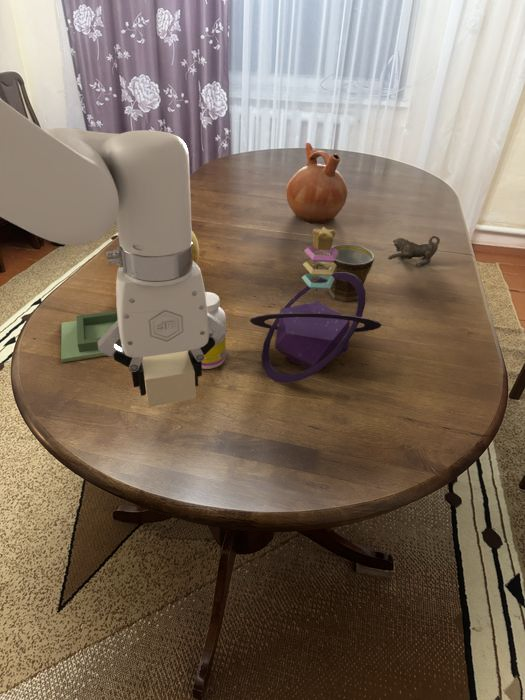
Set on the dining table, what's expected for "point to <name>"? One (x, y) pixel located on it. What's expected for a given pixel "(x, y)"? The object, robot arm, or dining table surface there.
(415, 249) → the dog figurine
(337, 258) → the ceramic cup
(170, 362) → the beige cube block
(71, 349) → the green rectangular tray
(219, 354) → the supplement bottle
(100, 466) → the dining table surface
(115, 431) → the dining table surface
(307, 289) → the purple faceted ringed piece
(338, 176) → the jug
